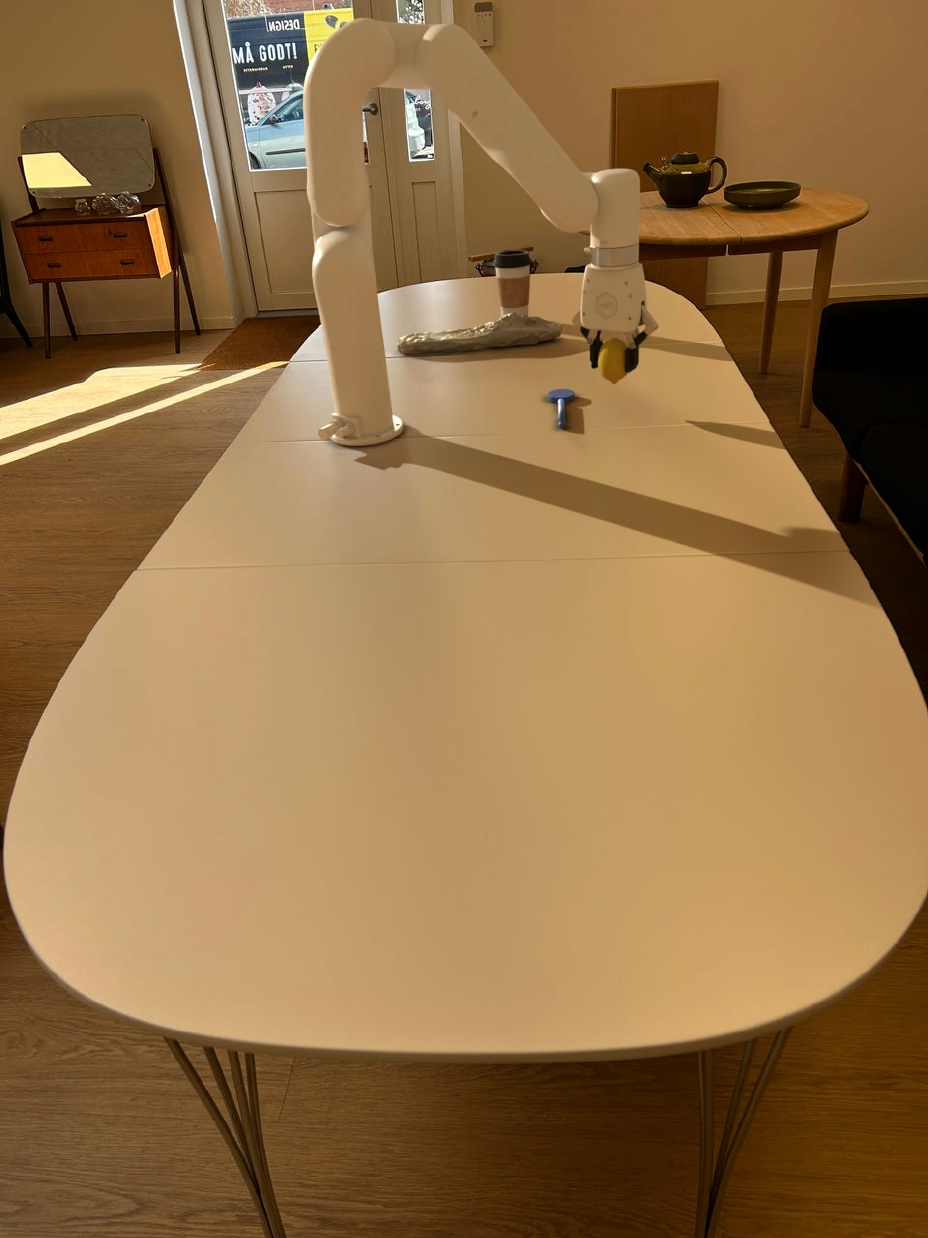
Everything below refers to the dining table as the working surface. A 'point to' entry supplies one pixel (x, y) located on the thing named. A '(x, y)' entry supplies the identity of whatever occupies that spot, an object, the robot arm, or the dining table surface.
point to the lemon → (612, 360)
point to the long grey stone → (483, 335)
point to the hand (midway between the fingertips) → (614, 367)
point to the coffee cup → (513, 281)
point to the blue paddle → (561, 402)
